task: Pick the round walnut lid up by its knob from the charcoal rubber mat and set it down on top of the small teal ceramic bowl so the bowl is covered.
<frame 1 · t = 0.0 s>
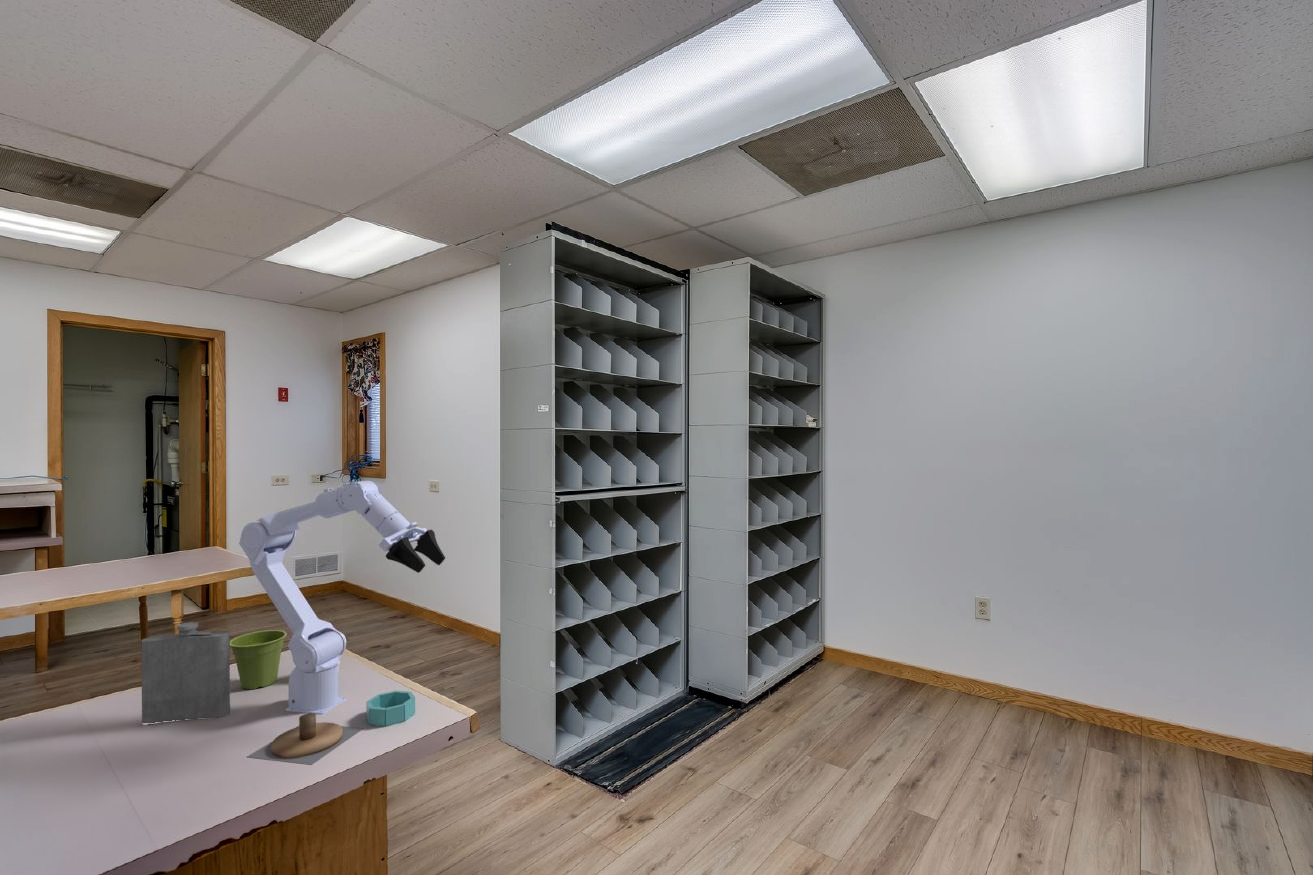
hand: (432, 565, 130), 32 cm above the table, tool tilted 50°, fingers open, 7 cm apart
mat: (307, 743, 118), on the table
lid: (307, 741, 118), resting on mat
plant pot: (258, 684, 148), on the table
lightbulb: (332, 676, 153), on the table
bowl: (391, 718, 129), on the table
hip flask: (187, 718, 130), on the table
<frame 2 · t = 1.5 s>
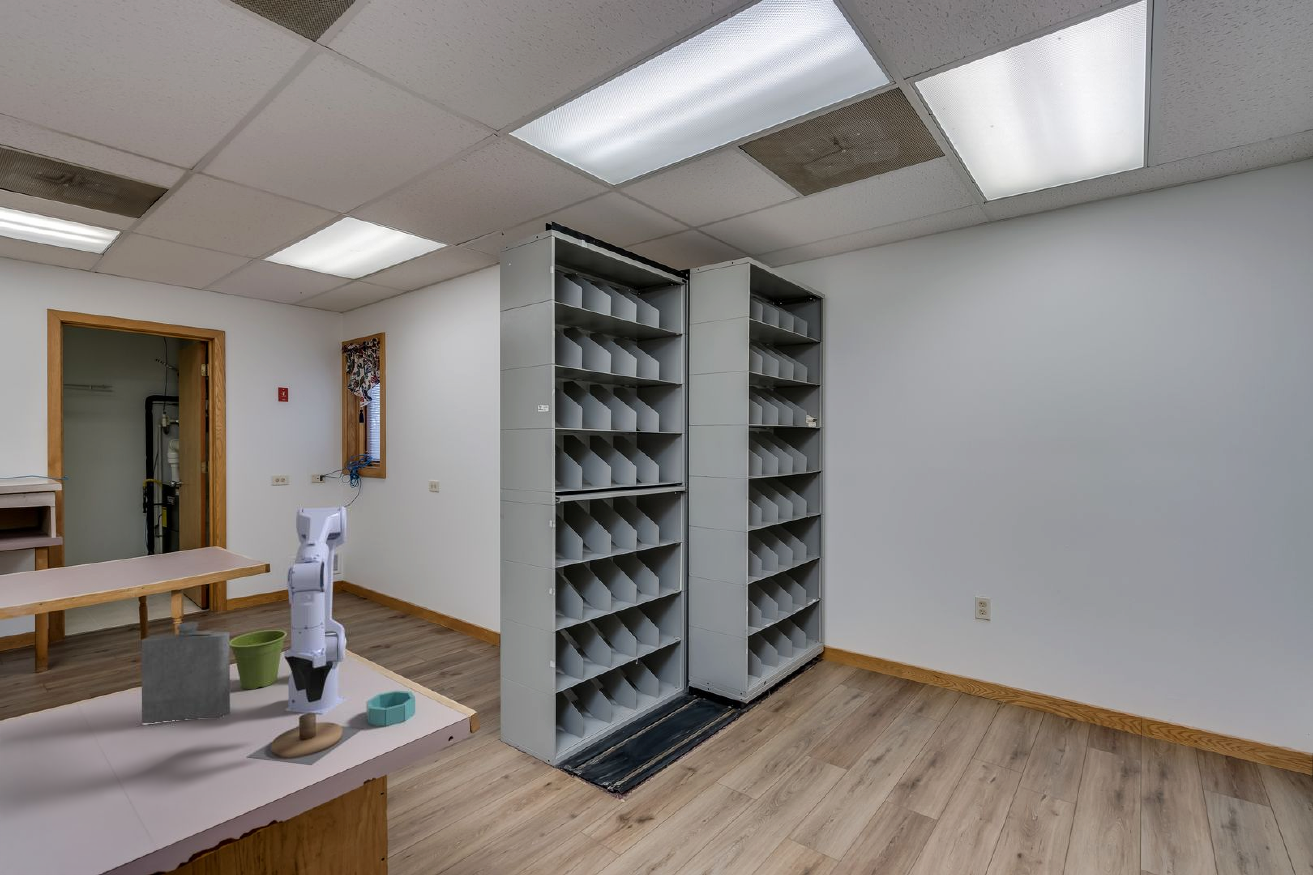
hand: (308, 694, 118), 10 cm above the table, tool pointing down, fingers open, 7 cm apart
nothing on the table moved.
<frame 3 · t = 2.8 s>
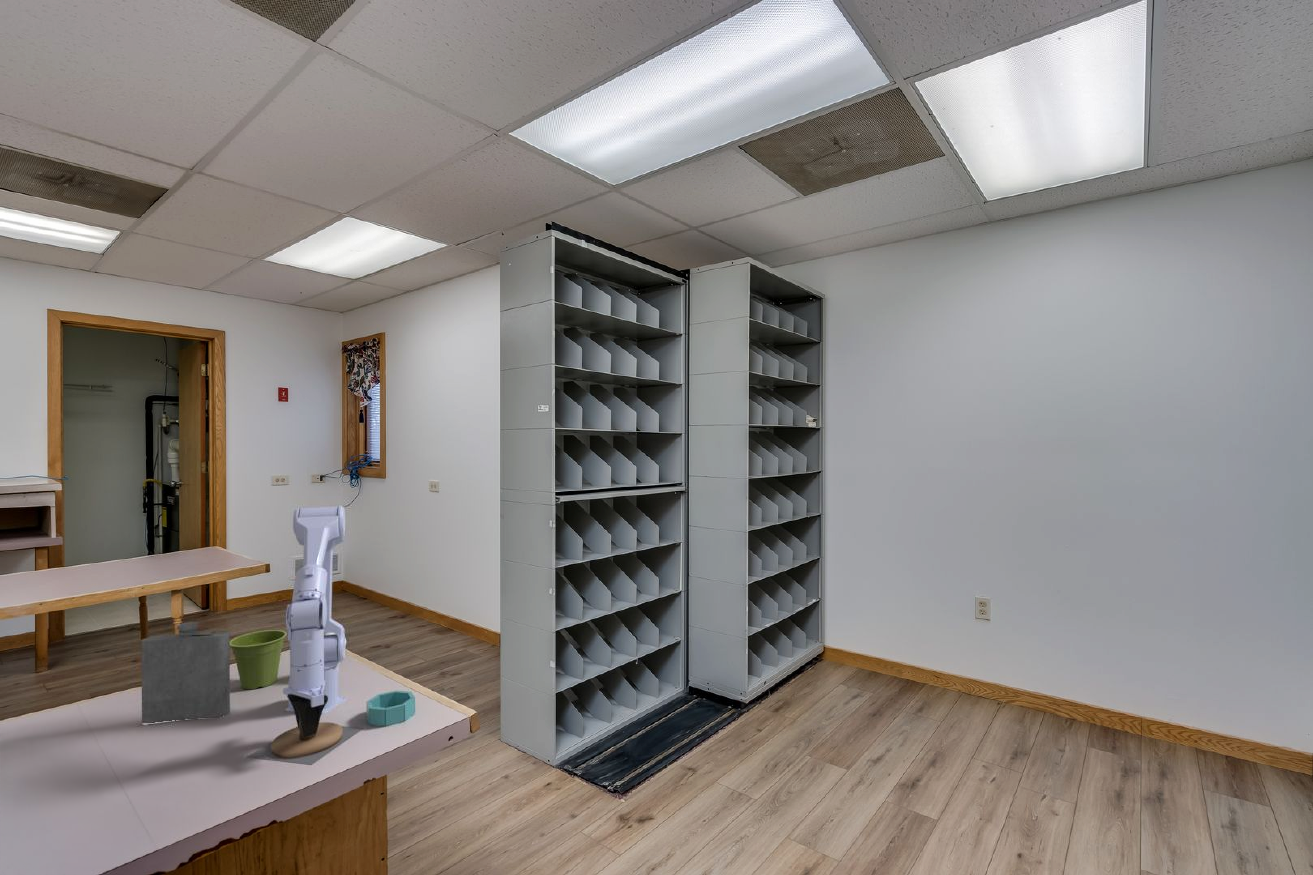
hand: (307, 731, 118), 2 cm above the table, tool pointing down, fingers closed on lid, 3 cm apart
lid: (307, 741, 118), resting on mat, touching gripper
everything else where it was.
when the fingers open (7 cm above the table, at t = 5.9 s): lid drops 1 cm, resting on bowl.
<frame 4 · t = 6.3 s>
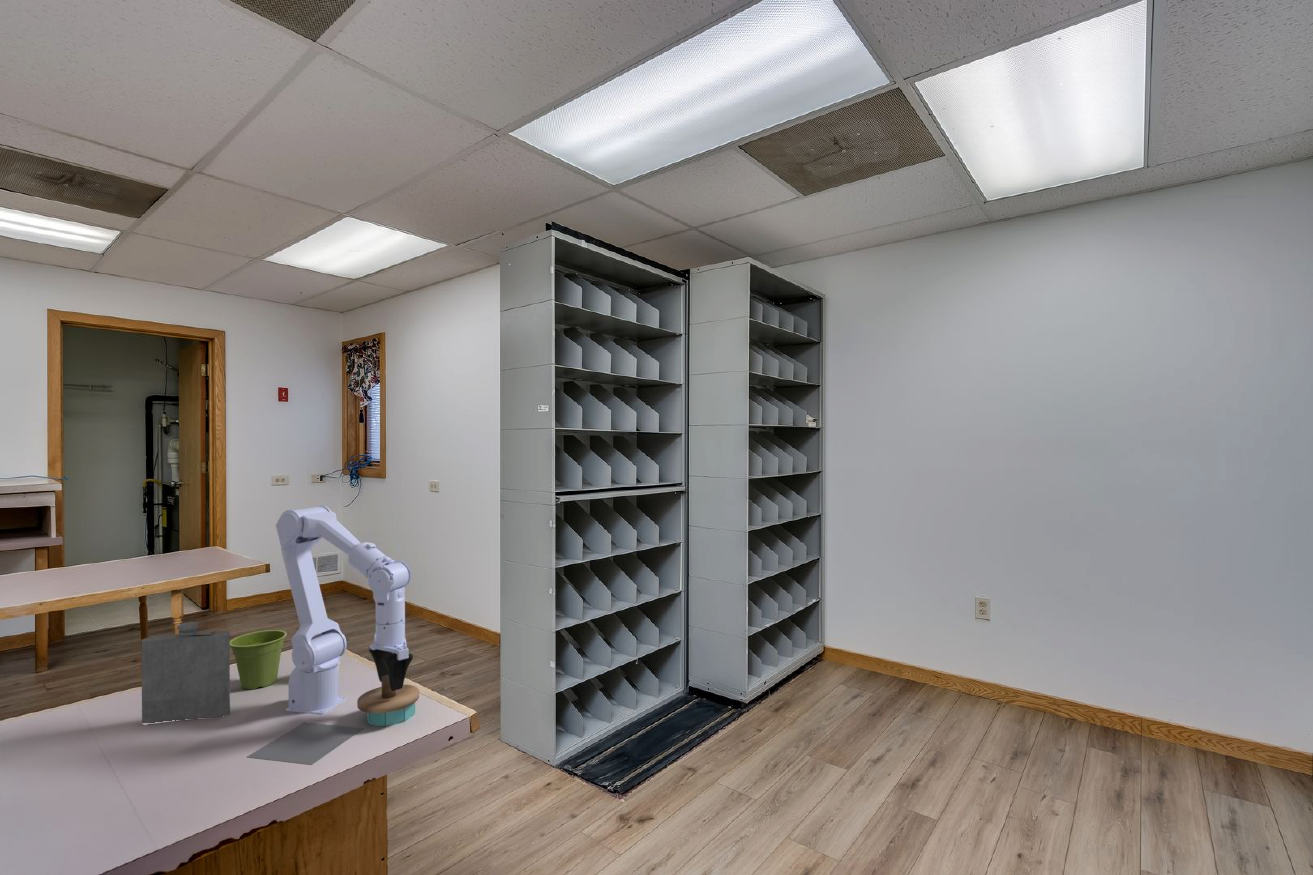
hand: (390, 684, 129), 7 cm above the table, tool pointing down, fingers open, 6 cm apart
lid: (388, 700, 129), point 4 cm above the table, touching bowl
bowl: (391, 718, 129), on the table, touching lid
everything else where it was.
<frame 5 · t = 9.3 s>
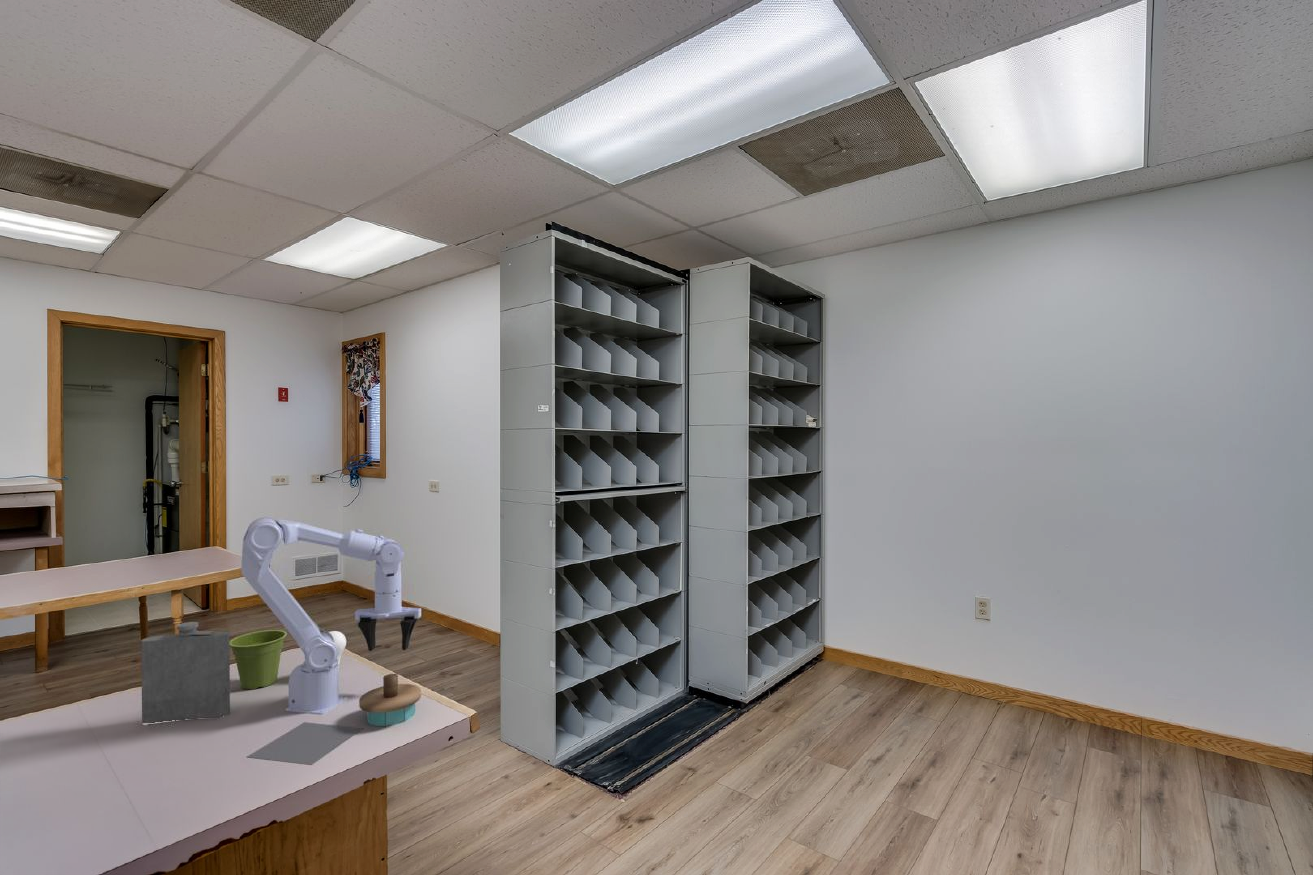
hand: (388, 648, 143), 10 cm above the table, tool pointing down, fingers open, 7 cm apart
nothing on the table moved.
at the end: lid 0.1 cm off-centre on the bowl, point 4.0 cm above the bowl's base; lid tilted 0°; lid touching bowl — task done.
